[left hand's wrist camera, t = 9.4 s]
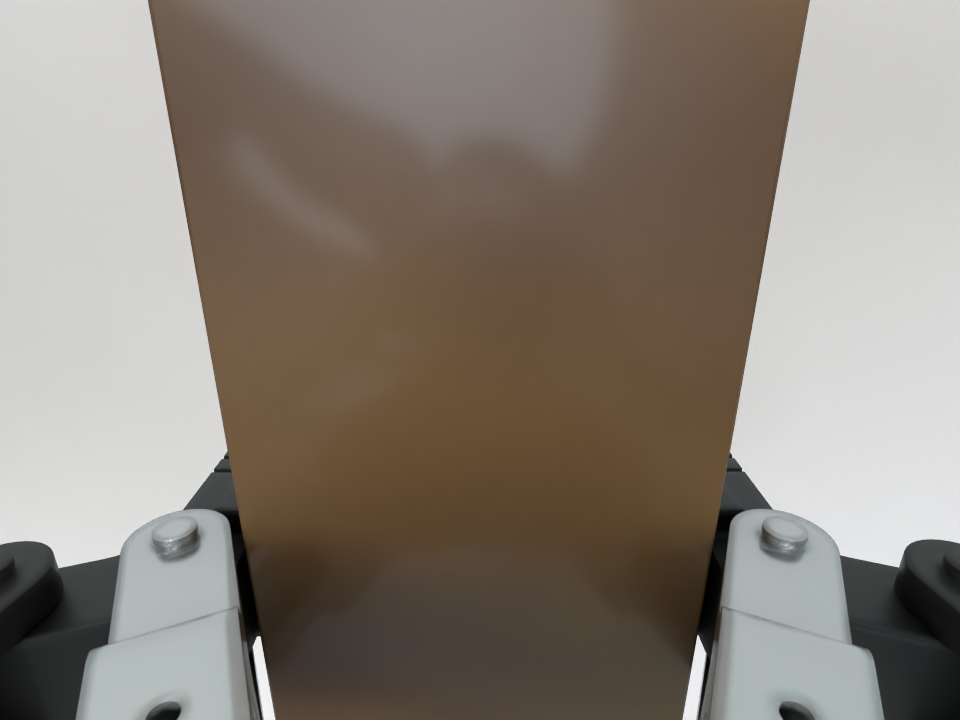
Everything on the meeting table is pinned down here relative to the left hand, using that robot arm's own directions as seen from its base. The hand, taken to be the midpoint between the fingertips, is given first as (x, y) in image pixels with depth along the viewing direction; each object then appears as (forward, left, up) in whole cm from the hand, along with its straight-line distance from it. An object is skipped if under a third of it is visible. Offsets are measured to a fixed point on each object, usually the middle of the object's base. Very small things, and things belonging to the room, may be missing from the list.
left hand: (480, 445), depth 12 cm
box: (+10, +3, -5) cm, 12 cm away
